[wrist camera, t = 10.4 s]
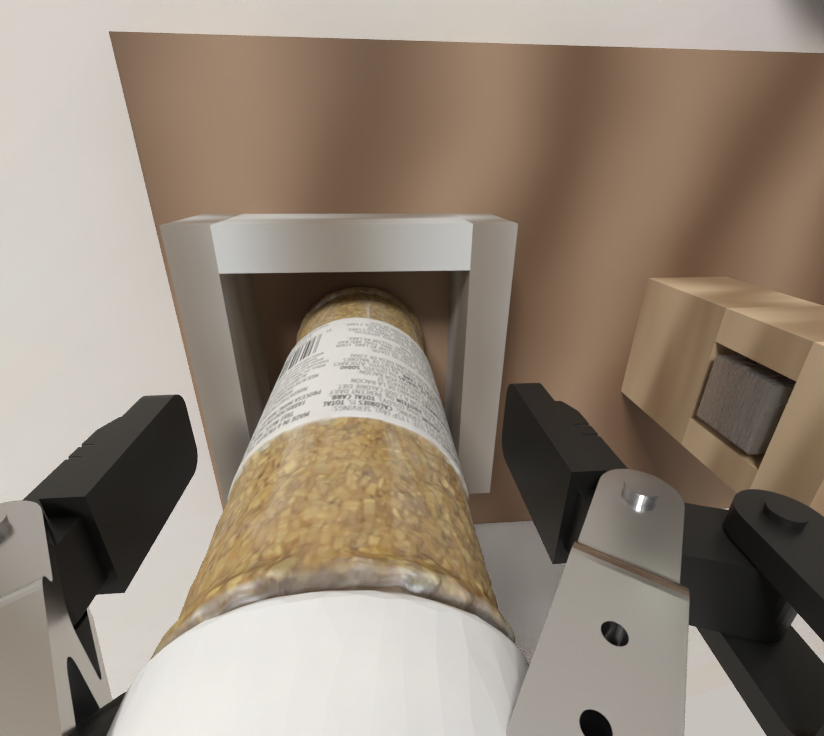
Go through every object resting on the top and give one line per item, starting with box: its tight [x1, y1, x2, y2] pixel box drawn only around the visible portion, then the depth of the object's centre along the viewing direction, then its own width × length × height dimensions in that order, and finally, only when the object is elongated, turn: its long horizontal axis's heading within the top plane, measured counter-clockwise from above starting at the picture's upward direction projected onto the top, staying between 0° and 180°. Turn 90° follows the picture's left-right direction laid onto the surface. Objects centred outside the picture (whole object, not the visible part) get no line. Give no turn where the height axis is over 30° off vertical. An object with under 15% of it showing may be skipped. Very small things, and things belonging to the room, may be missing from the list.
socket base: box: [109, 31, 824, 524], centre depth 13 cm, size 24×18×9 cm
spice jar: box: [107, 287, 529, 736], centre depth 9 cm, size 5×5×13 cm
